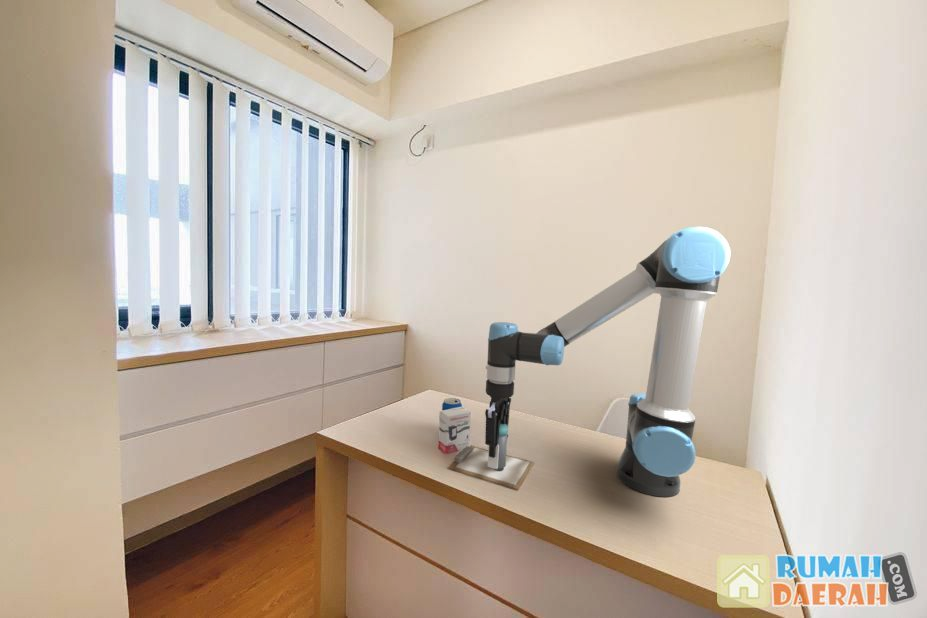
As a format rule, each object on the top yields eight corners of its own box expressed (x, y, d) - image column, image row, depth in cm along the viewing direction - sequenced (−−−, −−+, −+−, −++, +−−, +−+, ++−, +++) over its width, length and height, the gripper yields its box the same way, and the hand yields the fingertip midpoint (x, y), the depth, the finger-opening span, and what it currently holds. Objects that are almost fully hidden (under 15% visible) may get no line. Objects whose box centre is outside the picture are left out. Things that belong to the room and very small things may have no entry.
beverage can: (464, 437, 116) (465, 402, 115) (447, 442, 112) (449, 405, 111) (453, 430, 121) (455, 396, 120) (437, 434, 117) (438, 399, 116)
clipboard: (533, 463, 101) (534, 458, 100) (517, 490, 87) (518, 484, 87) (470, 446, 109) (471, 441, 109) (447, 468, 96) (447, 462, 96)
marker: (507, 466, 97) (509, 424, 96) (504, 473, 93) (506, 430, 92) (491, 463, 99) (493, 421, 98) (488, 470, 95) (490, 427, 94)
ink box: (446, 455, 104) (447, 416, 103) (437, 448, 108) (439, 410, 107) (469, 448, 108) (471, 411, 108) (460, 441, 113) (462, 406, 112)
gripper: (498, 371, 103) (494, 448, 105) (474, 385, 88) (470, 474, 90) (523, 375, 100) (518, 454, 102) (502, 390, 85) (497, 482, 87)
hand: (495, 463), depth 96 cm, fingers closed on marker, 3 cm apart
